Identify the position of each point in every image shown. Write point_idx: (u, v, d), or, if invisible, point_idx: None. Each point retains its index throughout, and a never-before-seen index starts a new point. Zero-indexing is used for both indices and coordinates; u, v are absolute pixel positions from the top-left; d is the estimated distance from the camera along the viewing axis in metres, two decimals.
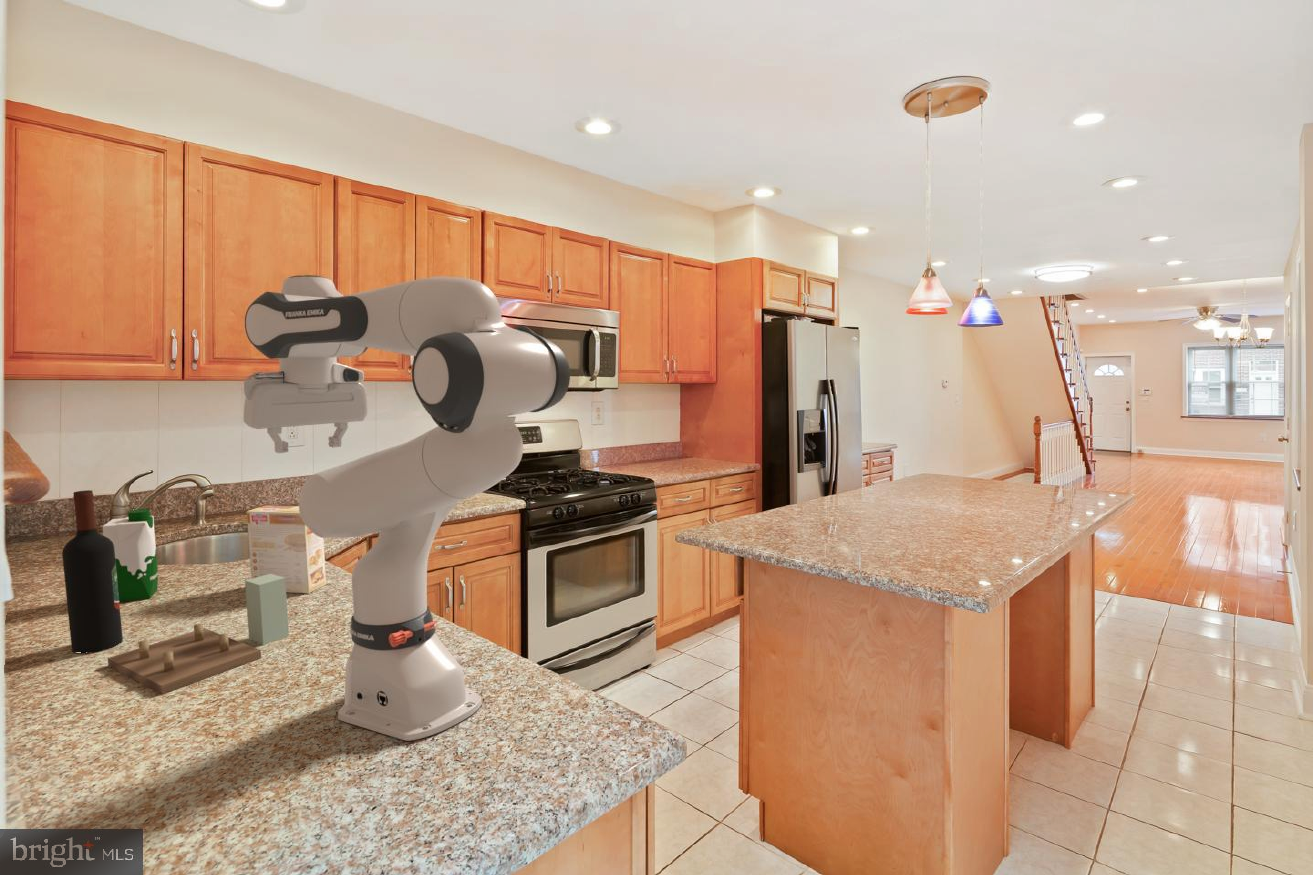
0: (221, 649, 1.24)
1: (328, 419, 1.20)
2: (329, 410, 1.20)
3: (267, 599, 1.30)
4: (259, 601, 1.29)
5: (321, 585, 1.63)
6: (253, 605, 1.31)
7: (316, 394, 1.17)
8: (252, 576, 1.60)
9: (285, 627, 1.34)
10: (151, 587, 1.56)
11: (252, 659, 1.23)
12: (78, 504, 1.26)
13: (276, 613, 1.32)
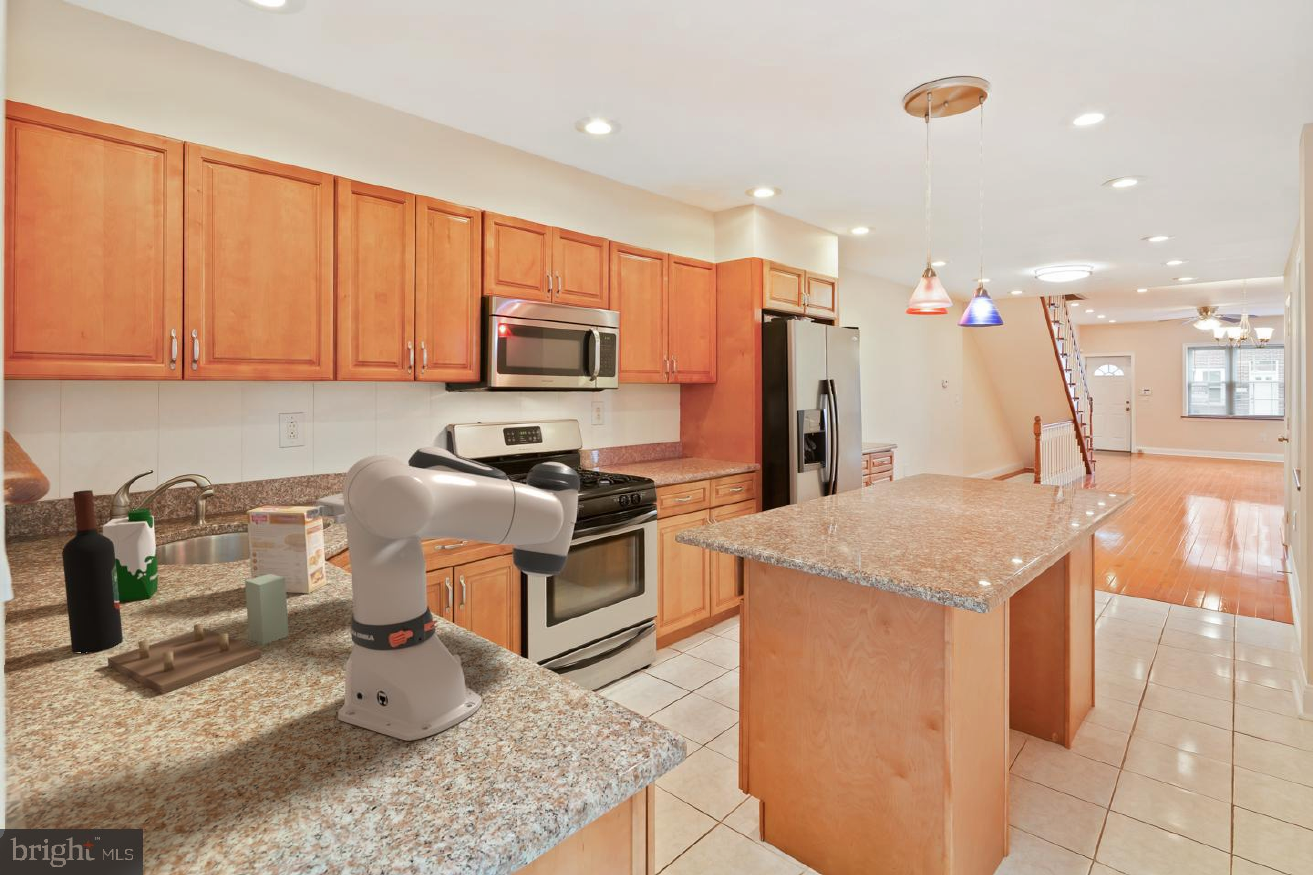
0: (221, 649, 1.24)
1: None
2: None
3: (267, 599, 1.30)
4: (259, 601, 1.29)
5: (321, 585, 1.63)
6: (253, 605, 1.31)
7: None
8: (252, 576, 1.60)
9: (285, 627, 1.34)
10: (151, 587, 1.56)
11: (252, 659, 1.23)
12: (78, 504, 1.26)
13: (276, 613, 1.32)
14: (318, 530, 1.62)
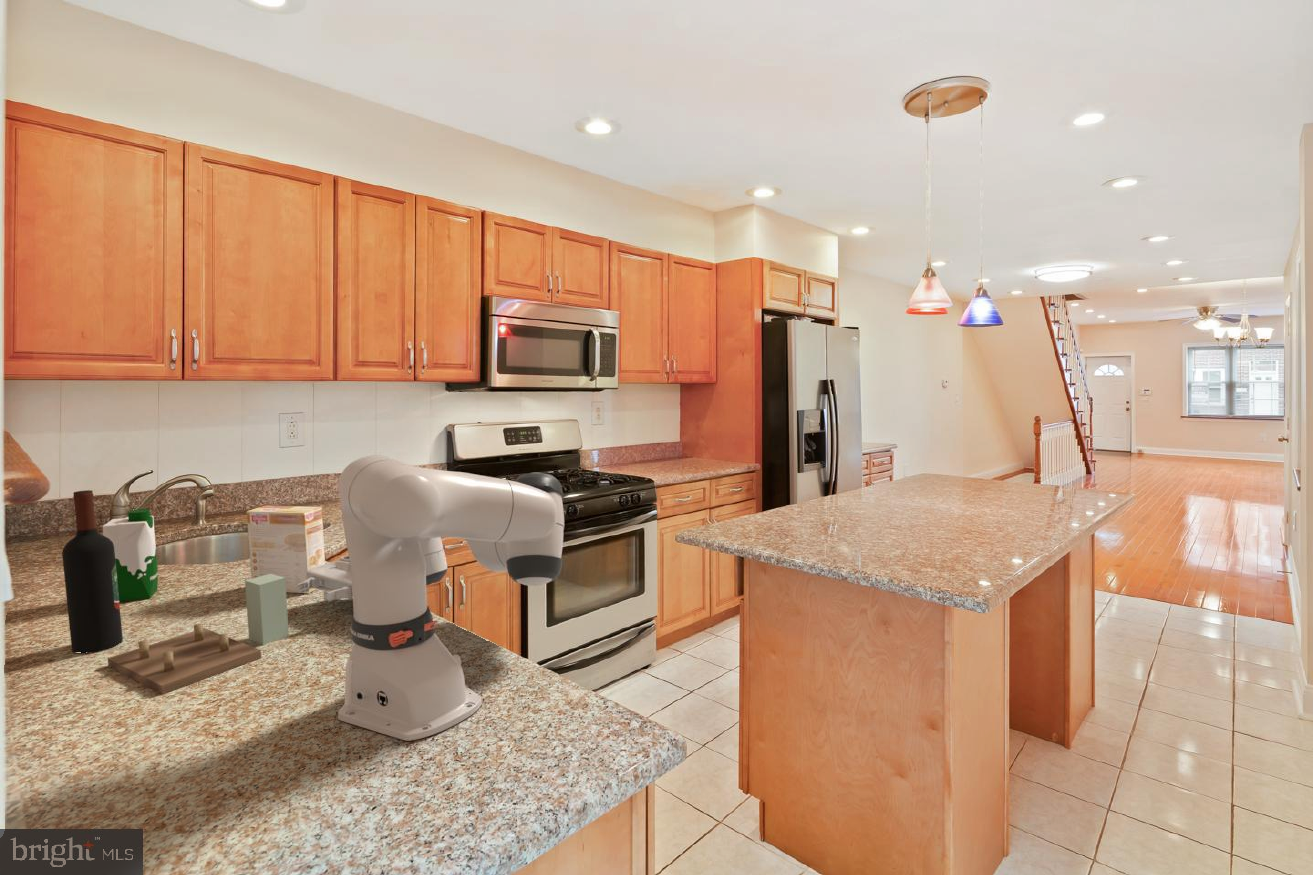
0: (221, 649, 1.24)
1: None
2: None
3: (267, 599, 1.30)
4: (259, 601, 1.29)
5: None
6: (253, 605, 1.31)
7: None
8: (252, 576, 1.60)
9: (285, 627, 1.34)
10: (151, 587, 1.56)
11: (252, 659, 1.23)
12: (78, 504, 1.26)
13: (276, 613, 1.32)
14: (318, 530, 1.62)
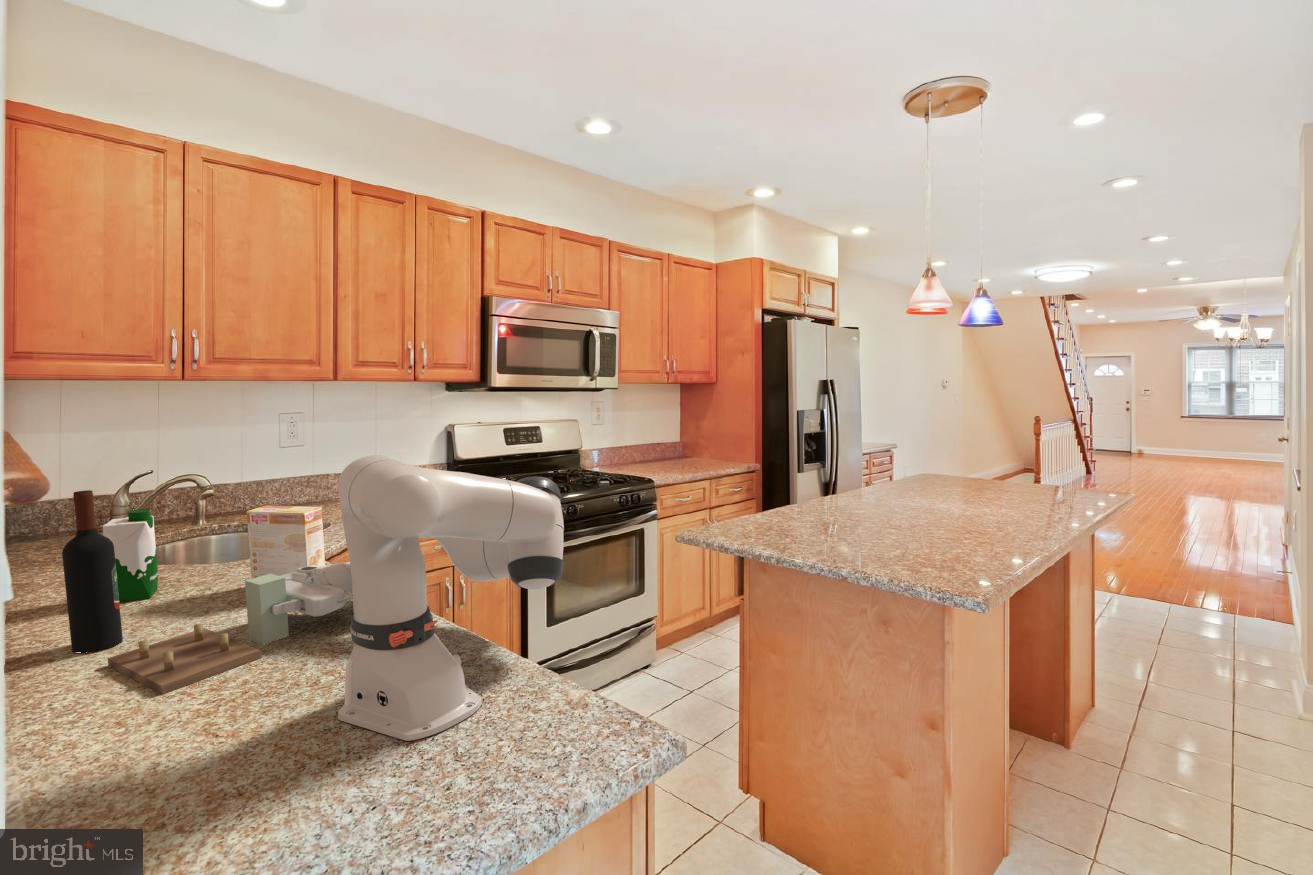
0: (221, 649, 1.24)
1: None
2: None
3: (267, 599, 1.30)
4: (259, 601, 1.29)
5: None
6: (253, 605, 1.31)
7: None
8: (252, 576, 1.60)
9: (285, 627, 1.34)
10: (151, 587, 1.56)
11: (252, 659, 1.23)
12: (78, 504, 1.26)
13: None
14: (318, 530, 1.62)
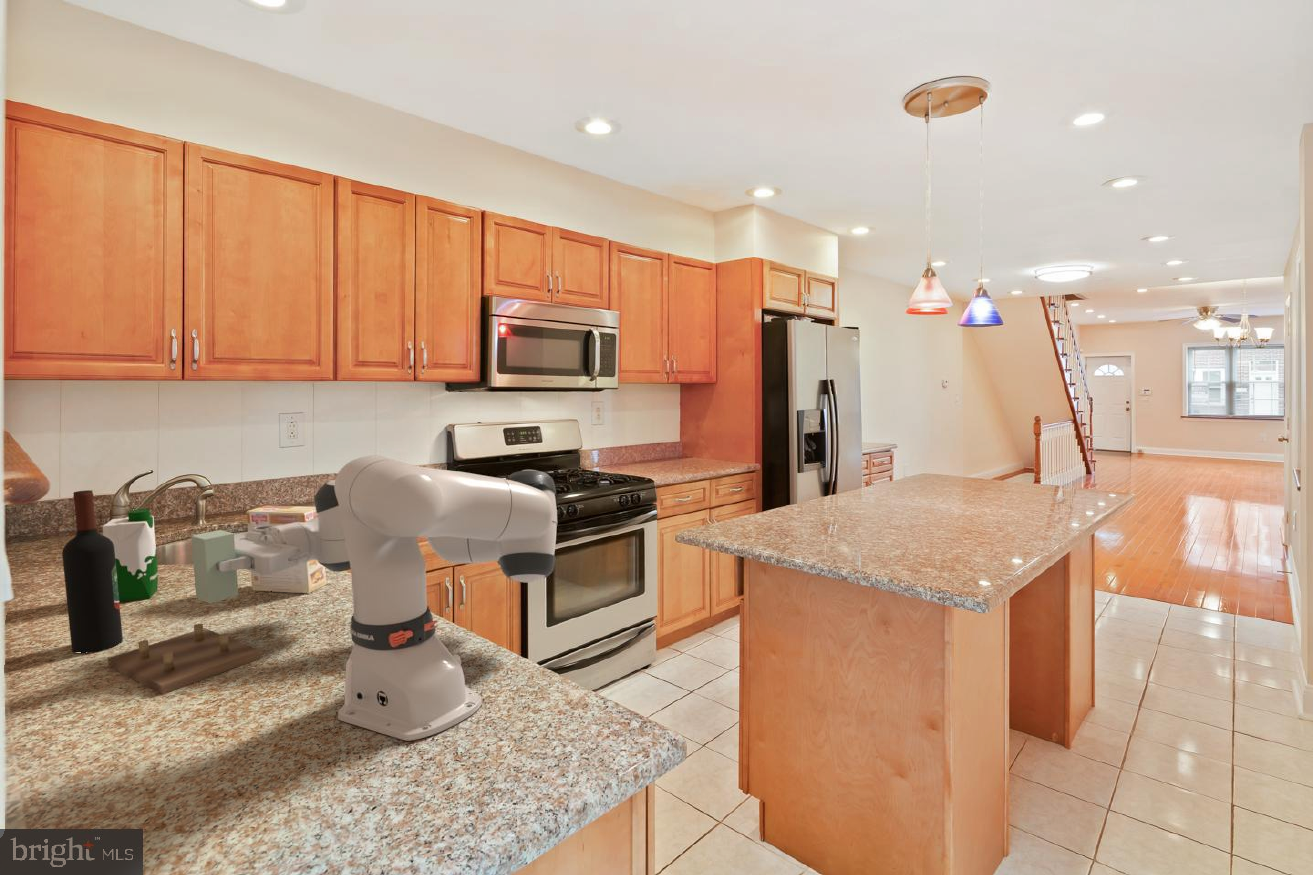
0: (221, 649, 1.24)
1: None
2: None
3: (213, 555, 1.24)
4: (204, 557, 1.23)
5: (321, 585, 1.63)
6: (199, 561, 1.24)
7: None
8: (252, 576, 1.60)
9: (234, 586, 1.27)
10: (151, 587, 1.56)
11: (252, 659, 1.23)
12: (78, 504, 1.26)
13: None
14: None
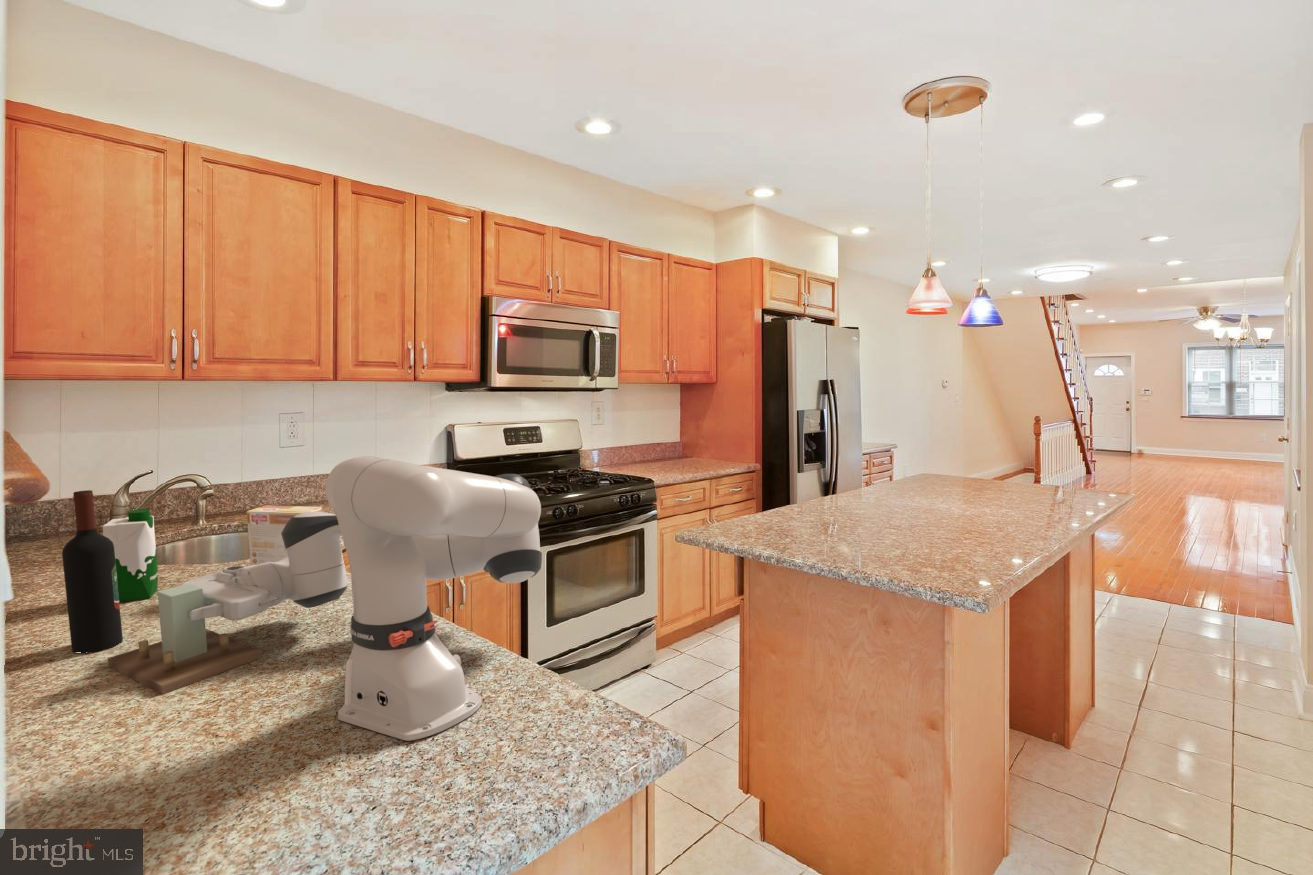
0: (221, 649, 1.24)
1: None
2: None
3: (180, 612, 1.20)
4: (171, 614, 1.19)
5: None
6: (165, 618, 1.20)
7: None
8: None
9: (203, 642, 1.23)
10: (151, 587, 1.56)
11: (252, 659, 1.23)
12: (78, 504, 1.26)
13: (192, 626, 1.21)
14: None
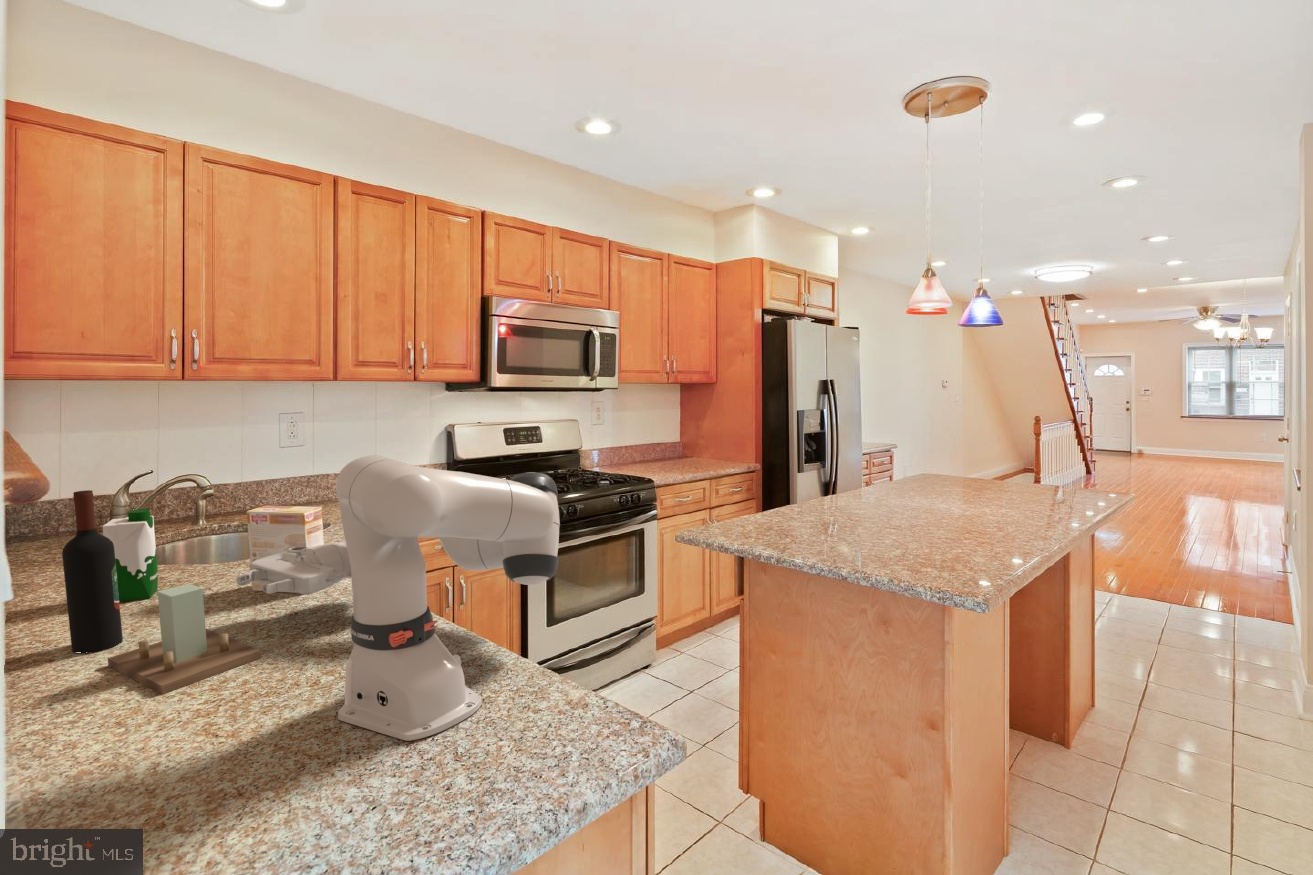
0: (221, 649, 1.24)
1: None
2: None
3: (180, 612, 1.20)
4: (171, 614, 1.19)
5: None
6: (165, 618, 1.20)
7: None
8: None
9: (203, 642, 1.23)
10: (151, 587, 1.56)
11: (252, 659, 1.23)
12: (78, 504, 1.26)
13: (192, 626, 1.21)
14: (318, 530, 1.62)
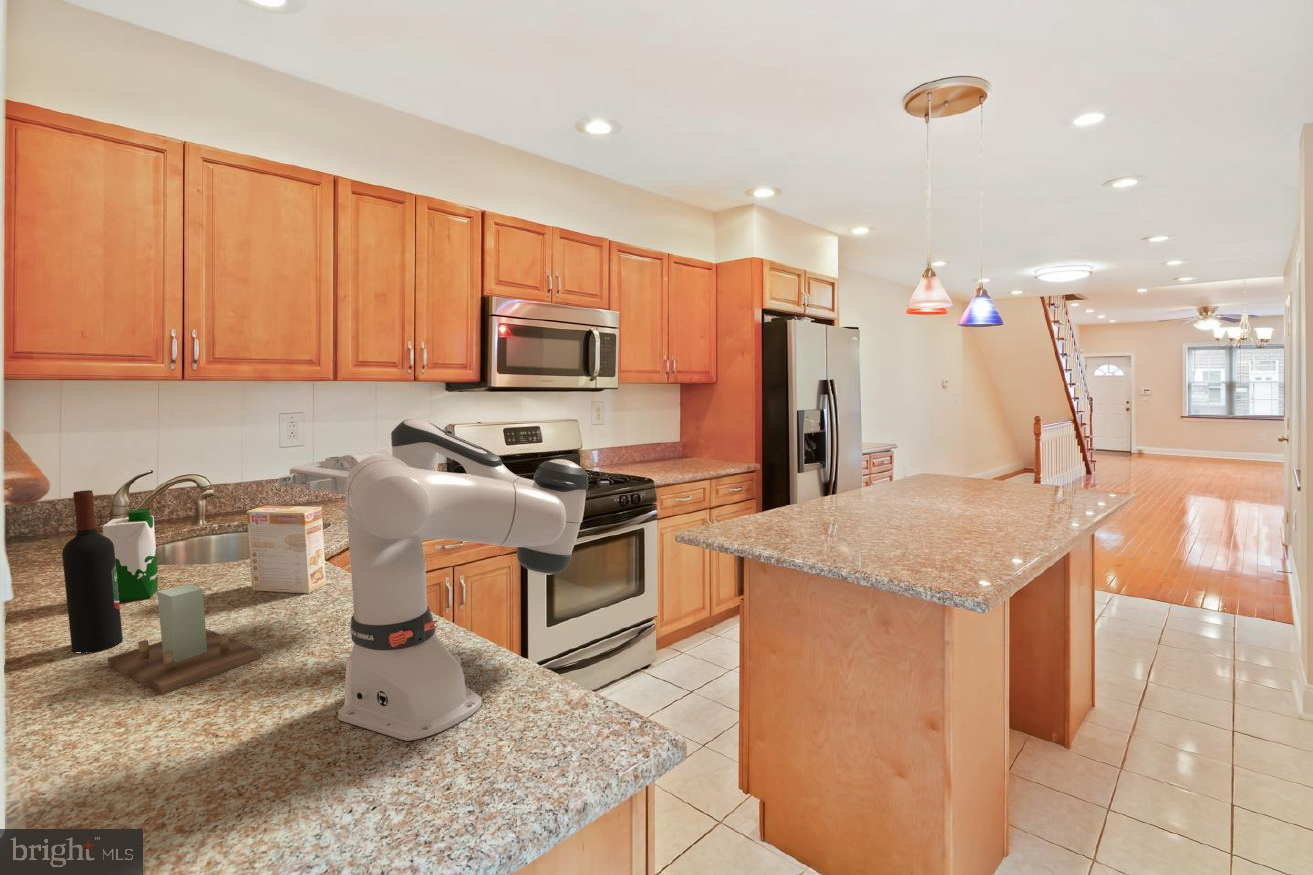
0: (221, 649, 1.24)
1: None
2: None
3: (180, 612, 1.20)
4: (171, 614, 1.19)
5: (321, 585, 1.63)
6: (165, 618, 1.20)
7: None
8: (252, 576, 1.60)
9: (203, 642, 1.23)
10: (151, 587, 1.56)
11: (252, 659, 1.23)
12: (78, 504, 1.26)
13: (192, 626, 1.21)
14: (318, 530, 1.62)
